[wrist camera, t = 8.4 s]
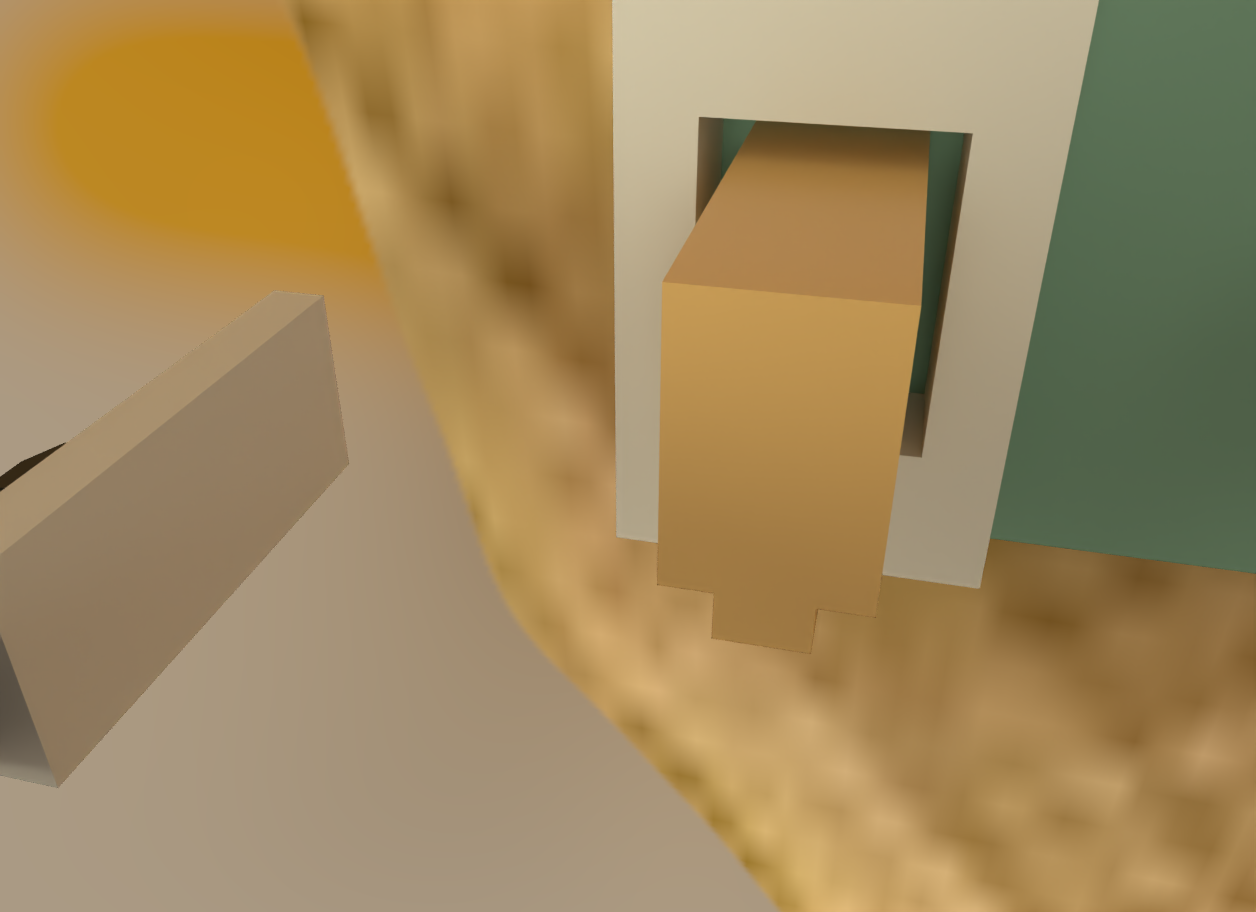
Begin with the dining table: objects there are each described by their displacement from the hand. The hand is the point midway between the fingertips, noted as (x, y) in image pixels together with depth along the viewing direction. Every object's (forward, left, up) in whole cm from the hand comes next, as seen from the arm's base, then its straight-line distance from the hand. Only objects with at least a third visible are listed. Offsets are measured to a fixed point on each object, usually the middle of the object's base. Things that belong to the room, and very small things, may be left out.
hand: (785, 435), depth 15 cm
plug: (0, 0, -7) cm, 7 cm away
